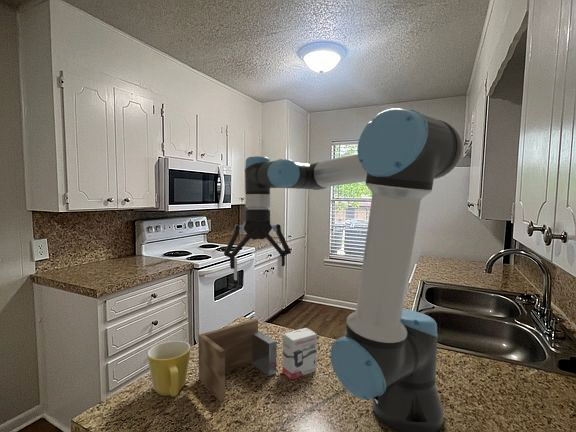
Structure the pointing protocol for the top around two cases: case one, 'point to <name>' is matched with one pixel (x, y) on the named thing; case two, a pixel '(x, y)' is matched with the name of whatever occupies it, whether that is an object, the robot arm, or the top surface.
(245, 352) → the wooden corner frame
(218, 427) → the top surface
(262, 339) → the bookend
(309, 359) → the ink box
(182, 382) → the mug
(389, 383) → the robot arm
